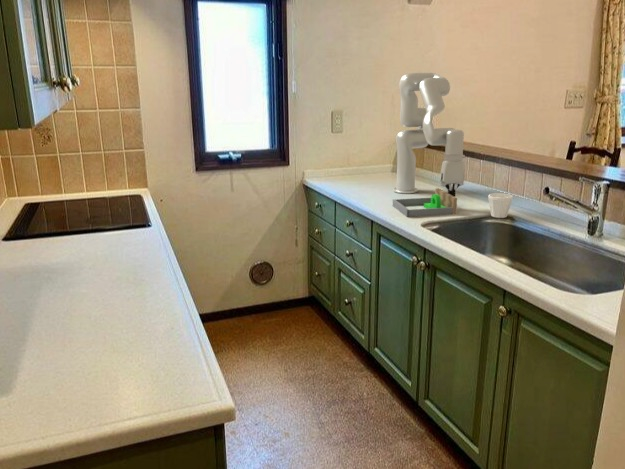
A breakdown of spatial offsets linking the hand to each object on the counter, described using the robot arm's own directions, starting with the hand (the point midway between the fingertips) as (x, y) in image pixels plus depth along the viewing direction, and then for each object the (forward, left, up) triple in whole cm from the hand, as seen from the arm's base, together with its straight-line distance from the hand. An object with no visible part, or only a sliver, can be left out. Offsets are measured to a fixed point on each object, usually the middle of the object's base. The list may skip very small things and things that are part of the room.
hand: (451, 198), depth 239 cm
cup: (+19, +14, -5) cm, 24 cm away
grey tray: (0, -13, -5) cm, 14 cm away
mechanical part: (+1, -8, -5) cm, 9 cm away
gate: (0, -3, -4) cm, 5 cm away
